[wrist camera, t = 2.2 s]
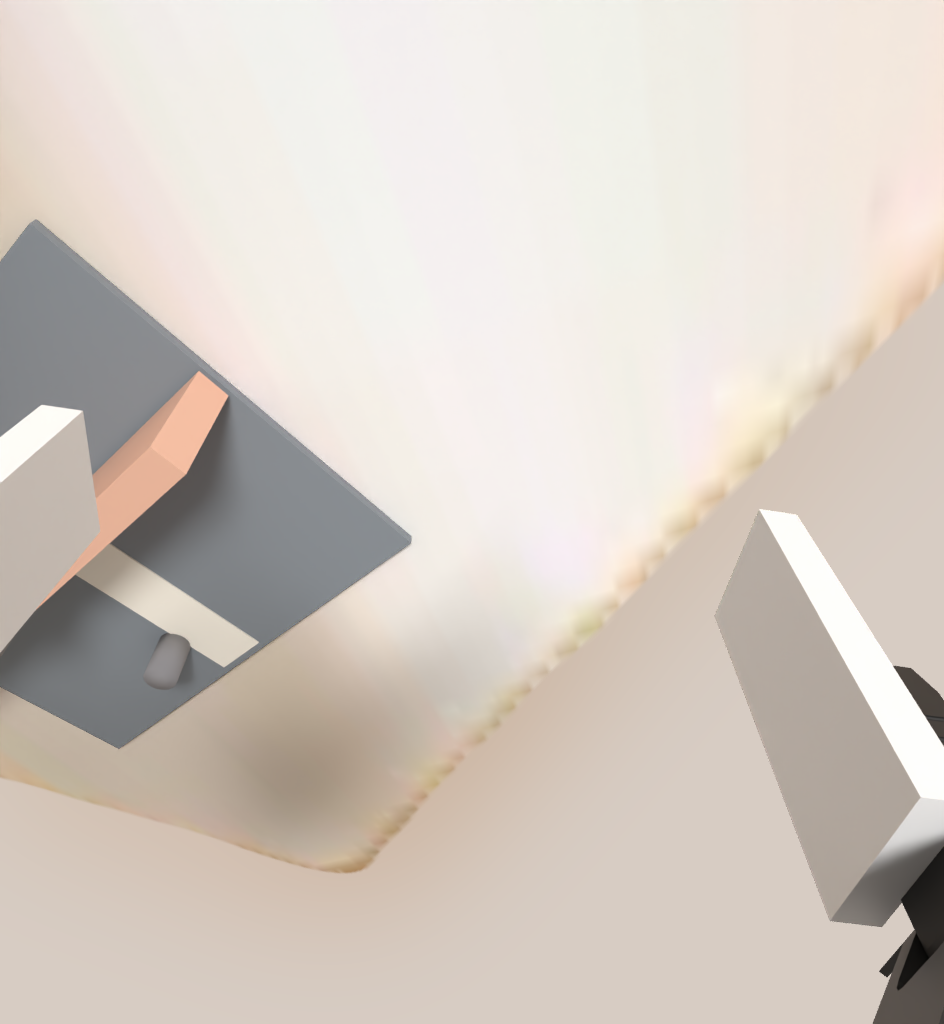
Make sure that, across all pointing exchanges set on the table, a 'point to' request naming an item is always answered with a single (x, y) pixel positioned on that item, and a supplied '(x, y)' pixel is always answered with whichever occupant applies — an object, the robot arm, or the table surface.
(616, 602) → the table surface
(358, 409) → the table surface
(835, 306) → the table surface
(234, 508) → the card
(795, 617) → the robot arm
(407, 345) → the table surface
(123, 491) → the hinged panel
